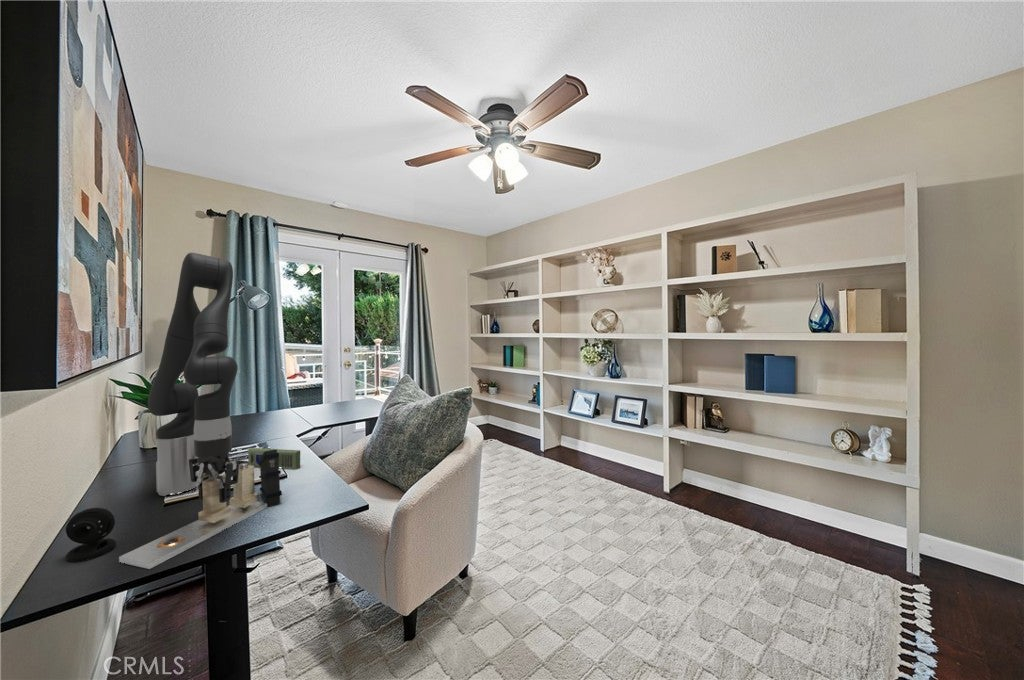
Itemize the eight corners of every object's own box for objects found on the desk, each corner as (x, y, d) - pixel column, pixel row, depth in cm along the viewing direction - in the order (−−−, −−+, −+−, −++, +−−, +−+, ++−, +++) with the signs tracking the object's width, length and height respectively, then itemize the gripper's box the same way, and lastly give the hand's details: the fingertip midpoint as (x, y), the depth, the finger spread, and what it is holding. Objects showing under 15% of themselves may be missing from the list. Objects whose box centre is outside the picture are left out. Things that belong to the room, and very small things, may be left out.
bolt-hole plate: (119, 562, 81) (117, 502, 81) (242, 503, 108) (241, 458, 108) (149, 569, 79) (147, 508, 78) (267, 507, 106) (266, 461, 105)
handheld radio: (295, 470, 133) (232, 467, 137) (301, 467, 137) (240, 464, 140) (295, 452, 134) (232, 448, 137) (301, 449, 137) (240, 446, 140)
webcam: (55, 566, 80) (54, 520, 79) (79, 547, 86) (77, 504, 86) (105, 557, 83) (103, 512, 82) (124, 539, 90) (122, 498, 89)
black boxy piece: (268, 505, 103) (263, 451, 108) (261, 510, 112) (256, 460, 117) (284, 501, 106) (278, 448, 110) (276, 506, 115) (271, 457, 119)
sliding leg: (198, 522, 95) (197, 477, 94) (216, 514, 99) (215, 470, 99) (213, 524, 93) (212, 479, 93) (231, 516, 98) (230, 472, 97)
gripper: (175, 437, 94) (177, 503, 94) (220, 441, 90) (221, 510, 91) (206, 429, 101) (208, 490, 101) (249, 433, 97) (250, 496, 98)
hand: (214, 499), depth 96 cm, fingers open, 6 cm apart
